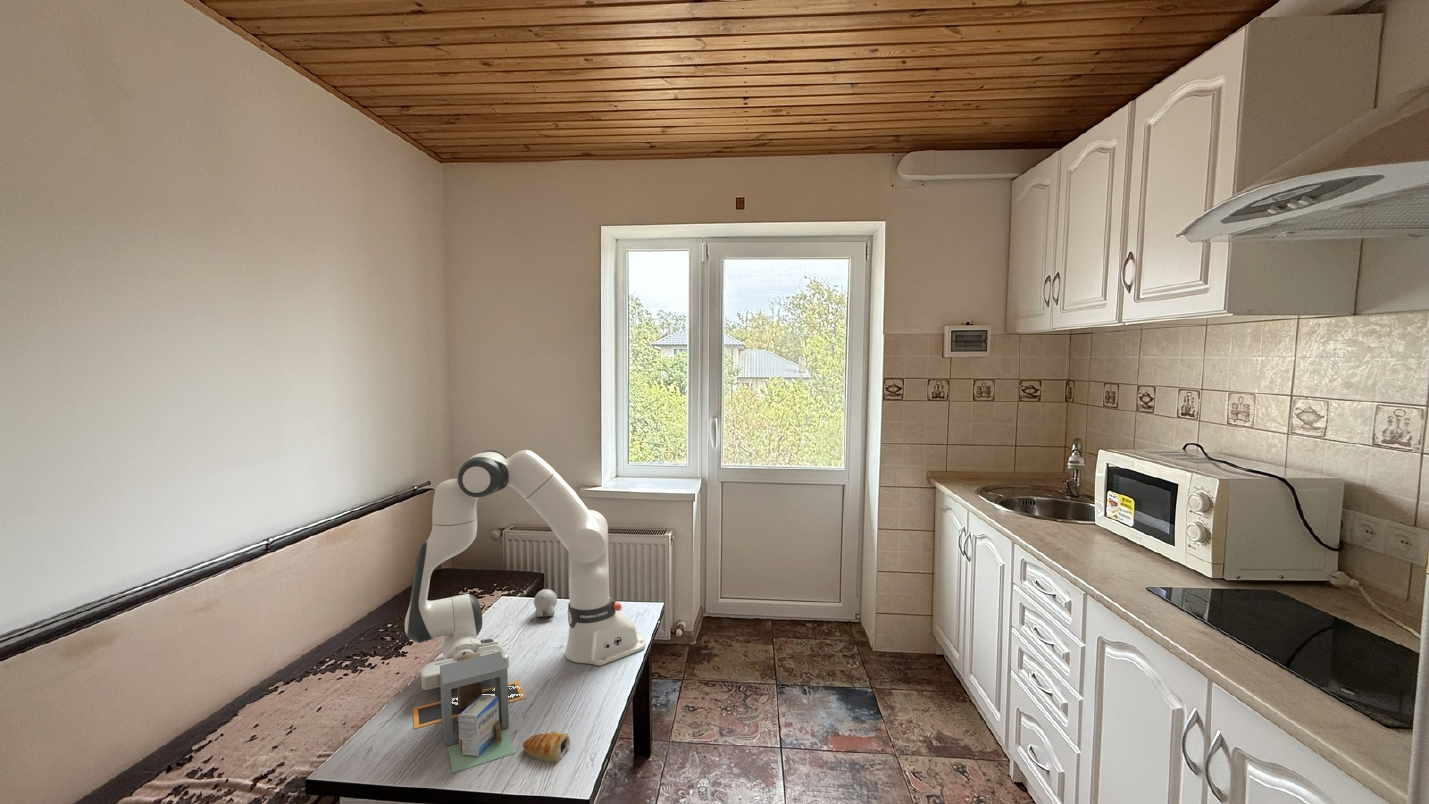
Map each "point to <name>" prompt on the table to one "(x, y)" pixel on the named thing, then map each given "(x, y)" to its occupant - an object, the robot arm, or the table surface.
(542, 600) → the round bodied animal figurine
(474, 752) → the medicine box
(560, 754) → the pastry
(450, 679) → the tunnel
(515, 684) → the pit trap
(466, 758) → the pad
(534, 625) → the table surface
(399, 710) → the table surface
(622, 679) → the table surface
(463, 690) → the block
